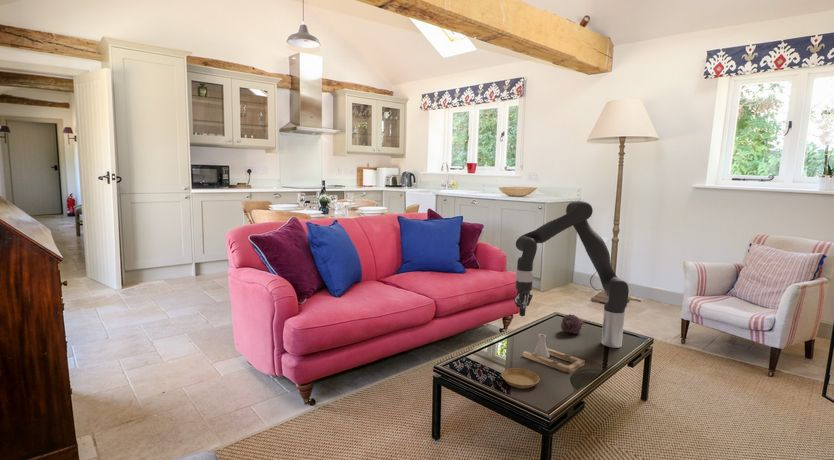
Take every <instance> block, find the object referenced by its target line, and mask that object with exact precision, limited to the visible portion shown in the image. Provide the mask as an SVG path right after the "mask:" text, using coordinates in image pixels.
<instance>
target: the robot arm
mask: <svg viewBox="0 0 834 460" xmlns="http://www.w3.org/2000/svg"><path fill="white" fill-rule="evenodd" d="M592 215H593V207H592V205H591V204H590V203H589V202H587V201H571V202H569V203H568V204H567V206H566V208H565V214H564V215H562V216H560V217H558V218H555V219H553V220H550V221H548V222H546V223H544V224H543V225H541V226H539V227H537V228H536V229H535V230H532V231H529V232H527V233H524V234H522V235H521V236H519V237H518V238H517V240H516V241H515V247H516V248H517V250H519V251H520V252H522V254H521V256H520V257H518V259H517V263H516V264H517V265H516V266H517V267H516V273H515V289H516V291H517V292H516V297H513V302H514V304H515V306H516V308H519V312H518V313H519V316H520V317H525V316H526V309H527V308H528V307H529V306H530V304H531V300H532V299H533V294H531V291H532V290H533V281H534V280H533V277H534V274H533V273H534V272H533V268H534V267H533V266H534V260H535V258H536V254H537V250H538V244H543V243H546V242H547V241H549V240H550V239H552V238H553V237H555V236H557V235H558V234H559V233H561V232H564V231H565V230H566V229H569V228H571V227H572V226H573V228H574V229H575V231H576V233H577V235H578V237H579V240H580V241H581V243H582V245H583V246H584V250H585V252H586V253H587V256H588V257H589V259H590V261H591V263H592V264H593V267H594V269H595V271H596V272H597V274H598V277H599V279H600V283H601V285H602V288H603V290H604V292H605V293H606V294H607V295H608V300H607V302H605V303H604V305H603V319H602V328H601V329H602V331H601V344H602V345H603V346H605V347H608V348H614V349H615V348H618V349H619V348H622V345H623V338H624V337H623V335H624V324H625V323H624V322H625V311H626V308H627V305H628V302H629V301H628V299H629V288H630V287H629V285H628V283H627V282H626V281H625V280H624V279H623V280H622V279H621V278H619V277H618V276H617V274H616V272H615V271H614V269H613V267H612V264H611V256H610V255H611V254H610V251H609V249H608V247H607V245H606V243H605V241H604V239H603V238H602V236H600V235H599V233H597V231H595V230H594V228H593V227H592V226H591V224H589V222H588V220H589V219H590V217H592Z"/></svg>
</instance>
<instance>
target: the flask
mask: <svg viewBox="0 0 834 460" xmlns="http://www.w3.org/2000/svg"><path fill="white" fill-rule="evenodd" d="M537 336H538V341H537V344H536V346H535V349H534V351H533V352H532V354H535V355H538V356H541V357H544V358H547V359H549V358H550V356H551V355H549V353H548V350H547V348H548V346H547V342H546V337H547V335H546V334H543V333H539V334H538V335H537Z"/></svg>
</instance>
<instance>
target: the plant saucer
mask: <svg viewBox="0 0 834 460" xmlns="http://www.w3.org/2000/svg"><path fill="white" fill-rule="evenodd" d="M501 377H502V379H503V380H504V381H505V382H506V384H507V385H508V386H511V387H514V388H518V389H530V388H532V387H534V386H536V385H537V384H538V383H539V382H540V376H539V375H538V374H536V373H535V372H534V371H532V370H529V369H527V368H526V369H524V368H518V367H513V368H512V367H511V368H507V369H505V370H503V371H502V372H501Z"/></svg>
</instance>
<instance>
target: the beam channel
mask: <svg viewBox="0 0 834 460" xmlns="http://www.w3.org/2000/svg"><path fill="white" fill-rule="evenodd" d="M547 350H548V353H549V356H552V357H555V358H557V359H561V360H563V361H567V362H569V363H571V364H569V365H566V364H564V363H561V362H559V361H557V360H552V359H551V358H550V359H549V358H544V357H541V356H538V355H535V354H533V352H530V351H527V350H524V351H523V352H522V357H524V358H526V359H529V360H532V361H534V362H537V363H539V364H543V365H545V366H549V367H550V368H553V369H557V370H559V371H562V372H566V373H568V374H572V373H573V372H575V371H577V370H578V369H580V368H582V367H583V366H585V364H586V360H584V359H582V358H579V357H576V356H573V355H571V354H570V353H569V354H568V353H563V352H560V351H557V350H554V349H551V348H549V347H547Z"/></svg>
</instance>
